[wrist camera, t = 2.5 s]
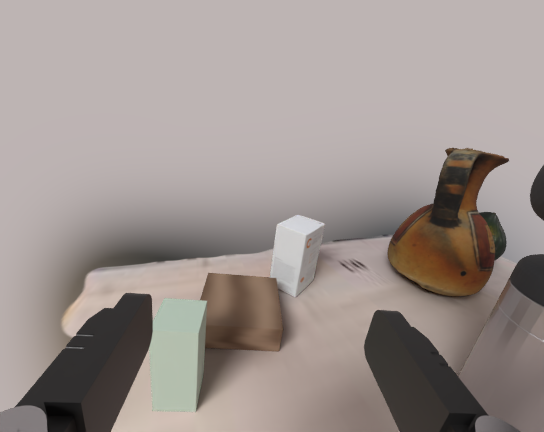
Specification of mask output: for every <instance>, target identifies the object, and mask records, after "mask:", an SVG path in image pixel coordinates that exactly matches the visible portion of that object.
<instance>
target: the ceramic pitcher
mask: <svg viewBox="0 0 544 432" xmlns="http://www.w3.org/2000/svg"><path fill="white" fill-rule="evenodd" d="M445 151H446V153H447V155H448V157H447V159H446V160H445V162H444V164H443V168H442V170H441V173H440V176H439V182H438V186H437V189H436V196H435V199H434V204H430V205H427V206H424V207H422V208H420V209H419V210H417V211H416V212H415V213H413V214H412V215H410V216H409V217H408V218H407V219H406V220H405V221H404V222H403V223H402V224H401V225H400V227H399V228H398V230H397V231H396V232H395V234H394V235H393V237H392V239H391V241H390V244H389V248H388V259H389V261H390V263H391V265H392V266H393V267H395V268H396V269H397V270H398V272H399V273H401V274H403V275H405V276H406V277H407V278H409V279H410V280H412V281H414V282H416V283H418V284H419V285H420V286H421V287H422V288H425V289H427V290H430V291H432V292H435V293H438V294H442V295H448V296H466V295H472V294H475V293H477V292H479V291H480V290H481V289H482V288H483V287H484V286H485V284H486V283H487V281H488V280H489V278H490V276H491V273H492V270H493V266H494V259H495V245H494V239H493V236H492V233H491V231H490V229H489V227H488V224H487V222H486V221H485V220H484V218H483V217H482V216H481V215H480V214H479V213H478V210H477V206H476V200H477V196H478V192H479V190H480V188H481V186H482V183H483V181H484V179H485V178H486V176H487V175H488V173H489V172H491V171H492V170H493V169H494V168H496V167H498V166H500V165H502V164H504V163H506V162H508V161H509V159H508V158H504V157H503V156H499V155H496V154H491V153H485V152H482V151H476V150H473V149H468V148H466V149H457V148H456V149H455V148H449V149H447V150H445Z"/></svg>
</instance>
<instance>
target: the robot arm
mask: <svg viewBox="0 0 544 432" xmlns="http://www.w3.org/2000/svg"><path fill="white" fill-rule="evenodd" d="M530 201H531V205H532V208H533V210H534V211H535V213H536V214H537V215H538V216H539V217H540V218H541V219H543V220H544V166H543V167H542V168H541V169H540V171H539V173H538V174H537V176H536V178H535V180H534V182H533V185H532V188H531V194H530ZM152 334H153V320H152V298H151V295H150V294H136V293H125V294H124V295H123V296H122V298H121V299H120V300H119V302H118V303H117V304H116V306H115V307H114V308H104V309H103V310H101V311H100V312H98V313H97V314H95V315H94V316H92V317H91V318H89V319H88V320H87V321H86V323H85V324H84V325H83V326H82V327H81V329H80V330H79V331H78V332H77V333H76V336H74V337H73V338H72V339H71V341H70V342H69V343H68V344H67V346H66V348H65V349H63V350H62V351H61V353H60V354H59V355H58V356H57V357H56V359H55V360H54V361H53V362H52V364H51V365H50V366H49V367H48V368H47V369H46V371H45V372H44V373H43V374H42V376H41V377H40V378H39V379H38V380H37V382H36V383H35V384H34V385H33V386H32V388H31V389H30V390H29V391H28V392H27V394H26V395H25V396H24V397H23V398H22V400H21V401H20V402H19V403H18V404H17V405H16V406H15V407H14V408H11V409H8V410H5V411H3V412H0V432H111V430H112V427H113V425H114V423H115V421H116V419H117V417H118V414H119V412H120V410H121V408H122V406H123V404H124V401H125V399H126V397H127V395H128V393H129V391H130V388H131V386H132V384H133V382H134V380H135V378H136V375H137V373H138V371H139V369H140V367H141V365H142V362H143V360H144V358H145V356H146V354H147V352H148V349H149V347H150V343H151V339H152ZM364 350H365V356H366V359H367V362H368V364H369V366H370V368H371V370H372V373H373V375H374V377H375V379H376V381H377V383H378V386H379V388H380V390H381V392H382V394H383V396H384V398H385V401H386V403H387V405H388V407H389V409H390V411H391V413H392V416H393V418H394V420H395V422H396V424H397V426H398V428H399V431H400V432H544V254H539V255H530V256H526V257H524V258H522V259H521V260H520V261H519V262H518V263H517V265H516V267H515V269H514V270H513V272H512V274H511V276H510V278H509V280H508V282H507V284H506V286H505V288H504V290H503V291H502V293H501V295H500V297H499V300H498V301H497V303H496V305H495V307H494V309H493V311H492V313H491V315H490V317H489V318H488V320H487V322H486V324H485V326H484V328H483V330H482V332H481V334H480V336H479V338H478V339H477V341H476V343H475V345H474V347H473V349H472V351H471V353H470V355H469V357H468V359H467V360H466V362H465V364H464V366H463V368H462V370H461V372H460V374H459V376H457V375H456V373H455V372H454V371H453V370H452V368H451V367H448V363H447V362H446V361H445V359H444V358H443V357H442V356H441V355H439V352H438V351H437V349H436V348H435V347H434V346H433V344H432V343H431V342H430V340H429V339H428V338H427V337H425V336H424V335H423V334H422V333H420V332H419V331H418V330H417V329H416V328H414V327H411V326H410V325H409V323H408V322H407V321H406V319H405V318H404V317H403V315H402V314H401V313H400V312H398V311H385V310H377V311H376V312H375V313H374V315H373V318H372V321H371V324H370V327H369V331H368V334H367V337H366V340H365V344H364Z"/></svg>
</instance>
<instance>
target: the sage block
mask: <svg viewBox="0 0 544 432" xmlns="http://www.w3.org/2000/svg"><path fill="white" fill-rule="evenodd" d="M206 314H207V301H202V300H186V299H171V298H164V300H163V302H162V304H161V306H160V308H159V310H158V312H157V314H156V316H155V318H154V320H153V334H152V339H151V343H150V347H149V353H150V372H151V392H152V411H176V412H196V409H197V404H198V399H199V394H200V389H201V384H202V379H203V374H204V357H205V335H206Z"/></svg>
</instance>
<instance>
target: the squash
mask: <svg viewBox="0 0 544 432" xmlns="http://www.w3.org/2000/svg"><path fill="white" fill-rule="evenodd" d="M479 214H480V215H481V216H482V217H483V218H484V220H485V221H486V222H487V224H488V227H489V229H490V231H491V233H492V236H493V239H494V245H495V259H494V261H495V260H496V259H498V258H499V257H500V256H501V255H502V254H503V253H504V251H505V248H506V236H505V233H504V230H503V228H502V226H501V224H500V222H499V219H498V217H497V215H496V213H491V212H482V213H479Z"/></svg>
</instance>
